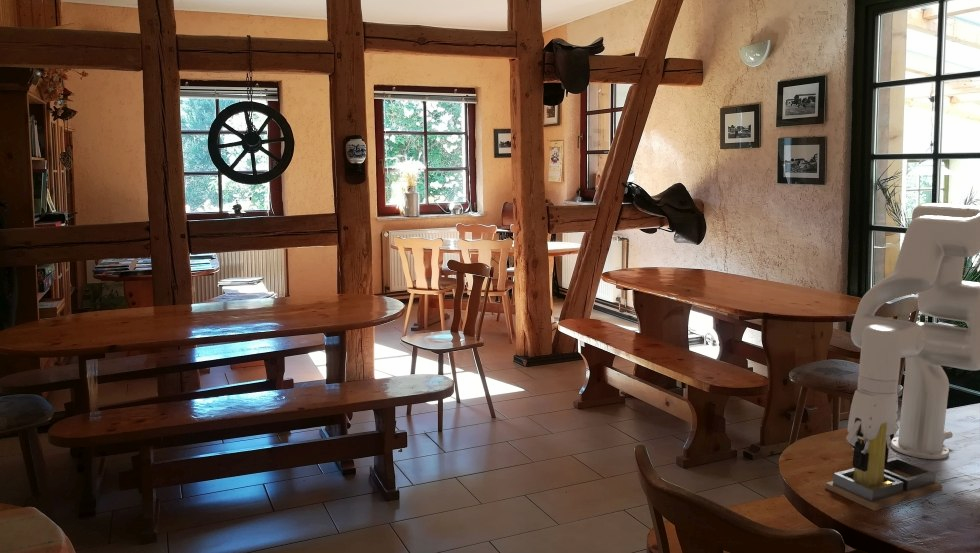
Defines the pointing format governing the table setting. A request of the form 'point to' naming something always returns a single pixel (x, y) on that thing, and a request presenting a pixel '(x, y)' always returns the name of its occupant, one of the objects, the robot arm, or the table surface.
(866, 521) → the table surface
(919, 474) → the two-cubby wall shelf
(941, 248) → the robot arm
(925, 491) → the board
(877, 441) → the vase
